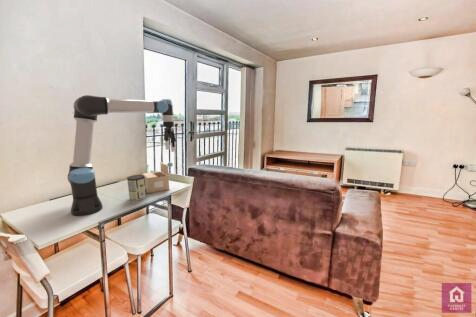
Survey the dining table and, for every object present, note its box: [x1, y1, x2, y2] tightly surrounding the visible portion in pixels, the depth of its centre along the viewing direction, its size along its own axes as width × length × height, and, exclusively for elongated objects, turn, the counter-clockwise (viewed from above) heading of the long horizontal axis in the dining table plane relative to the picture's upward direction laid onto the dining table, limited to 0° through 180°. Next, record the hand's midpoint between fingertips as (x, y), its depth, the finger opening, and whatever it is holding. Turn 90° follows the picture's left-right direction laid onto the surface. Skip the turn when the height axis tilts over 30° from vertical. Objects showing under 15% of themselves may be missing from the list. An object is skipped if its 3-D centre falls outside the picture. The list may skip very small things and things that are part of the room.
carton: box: [141, 171, 170, 194], centre depth 173 cm, size 14×18×11 cm
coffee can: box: [126, 174, 147, 201], centre depth 154 cm, size 10×10×14 cm
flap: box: [160, 161, 174, 176], centre depth 177 cm, size 8×17×7 cm
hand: (170, 150), depth 177 cm, fingers open, 13 cm apart
